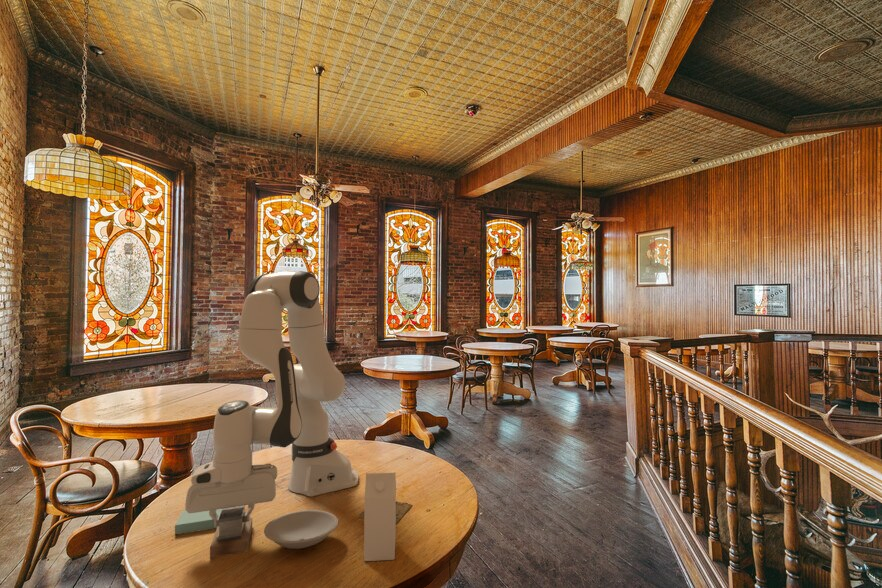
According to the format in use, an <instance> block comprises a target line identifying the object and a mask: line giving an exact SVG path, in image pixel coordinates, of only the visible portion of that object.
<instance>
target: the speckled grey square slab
mask: <svg viewBox="0 0 882 588" xmlns="http://www.w3.org/2000/svg"><path fill="white" fill-rule="evenodd" d="M412 508H413V504H411V503H408V502H401V501H397V500H396V525H397V524H398V523H399V522H401V520H402V519H403V518H404V516H405V515H406V514H407V513H408V512H409V511H410V509H412ZM357 518H358V519H362V520H364V510H363V511H362V512H361V513H360V514H359V515H358V516H357Z"/></svg>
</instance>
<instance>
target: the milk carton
mask: <svg viewBox="0 0 882 588" xmlns="http://www.w3.org/2000/svg"><path fill="white" fill-rule="evenodd" d="M396 484H397V480H396V472H378V473H377V472H375V473H374V472H372V473H371V472H370V473H365V486H364V501H363V502H364V504H363V505H364V507H363V508H364V509H363V511H364V519H363V521H364V522H363V524H364V527H363V532H364V533H363V561H364V562H371V561H372V562H373V561H393V560H396V559H395V558H396V556H395V555H396V535H397V534H396V532H397V531H396V529H397V528H396V527H397V524H396V501H397V498H396V495H397V494H396V493H397V492H396V491H397V489H396V487H397V485H396Z"/></svg>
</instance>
